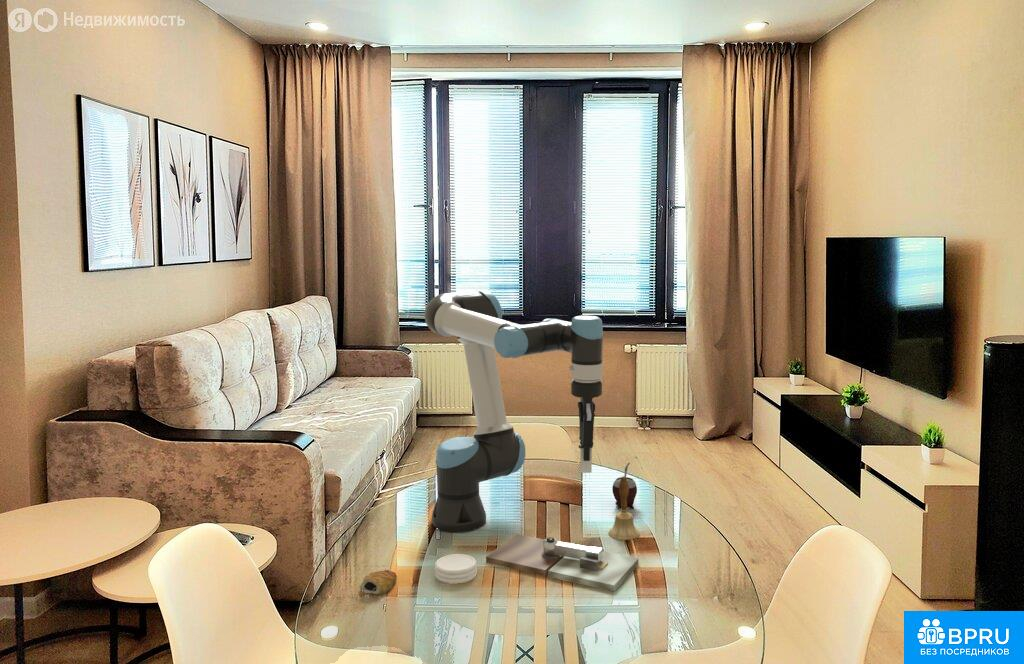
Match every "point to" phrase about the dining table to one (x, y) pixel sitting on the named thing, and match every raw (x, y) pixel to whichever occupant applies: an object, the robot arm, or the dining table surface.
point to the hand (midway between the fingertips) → (585, 471)
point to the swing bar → (571, 550)
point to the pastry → (378, 582)
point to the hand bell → (624, 517)
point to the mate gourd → (631, 492)
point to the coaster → (455, 568)
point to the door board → (563, 563)
